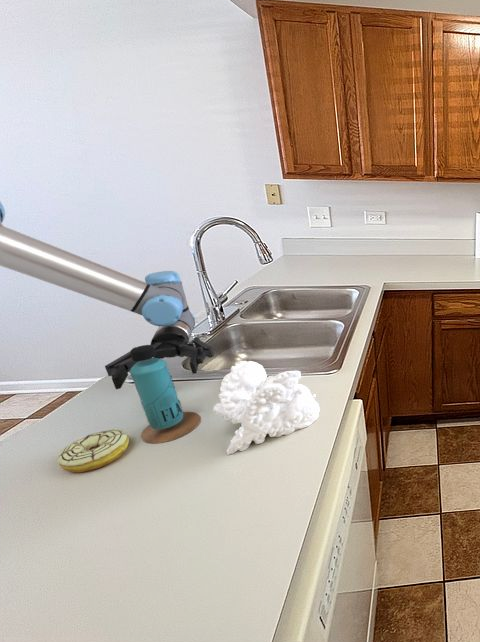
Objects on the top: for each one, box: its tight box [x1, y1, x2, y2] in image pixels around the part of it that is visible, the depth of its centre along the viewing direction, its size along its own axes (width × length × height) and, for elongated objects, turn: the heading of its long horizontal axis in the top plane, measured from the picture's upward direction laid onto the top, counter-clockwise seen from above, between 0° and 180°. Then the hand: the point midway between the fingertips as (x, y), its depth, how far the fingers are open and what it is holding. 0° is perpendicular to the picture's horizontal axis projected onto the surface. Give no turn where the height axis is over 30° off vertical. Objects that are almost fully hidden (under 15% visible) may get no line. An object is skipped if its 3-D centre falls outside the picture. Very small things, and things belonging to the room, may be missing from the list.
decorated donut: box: [56, 429, 130, 473], centre depth 81 cm, size 10×11×4 cm
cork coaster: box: [140, 411, 202, 445], centre depth 90 cm, size 11×11×1 cm
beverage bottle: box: [129, 344, 184, 429], centre depth 87 cm, size 6×7×20 cm
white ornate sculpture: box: [212, 360, 321, 456], centre depth 88 cm, size 19×20×20 cm
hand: (155, 375), depth 87 cm, fingers open, 13 cm apart
